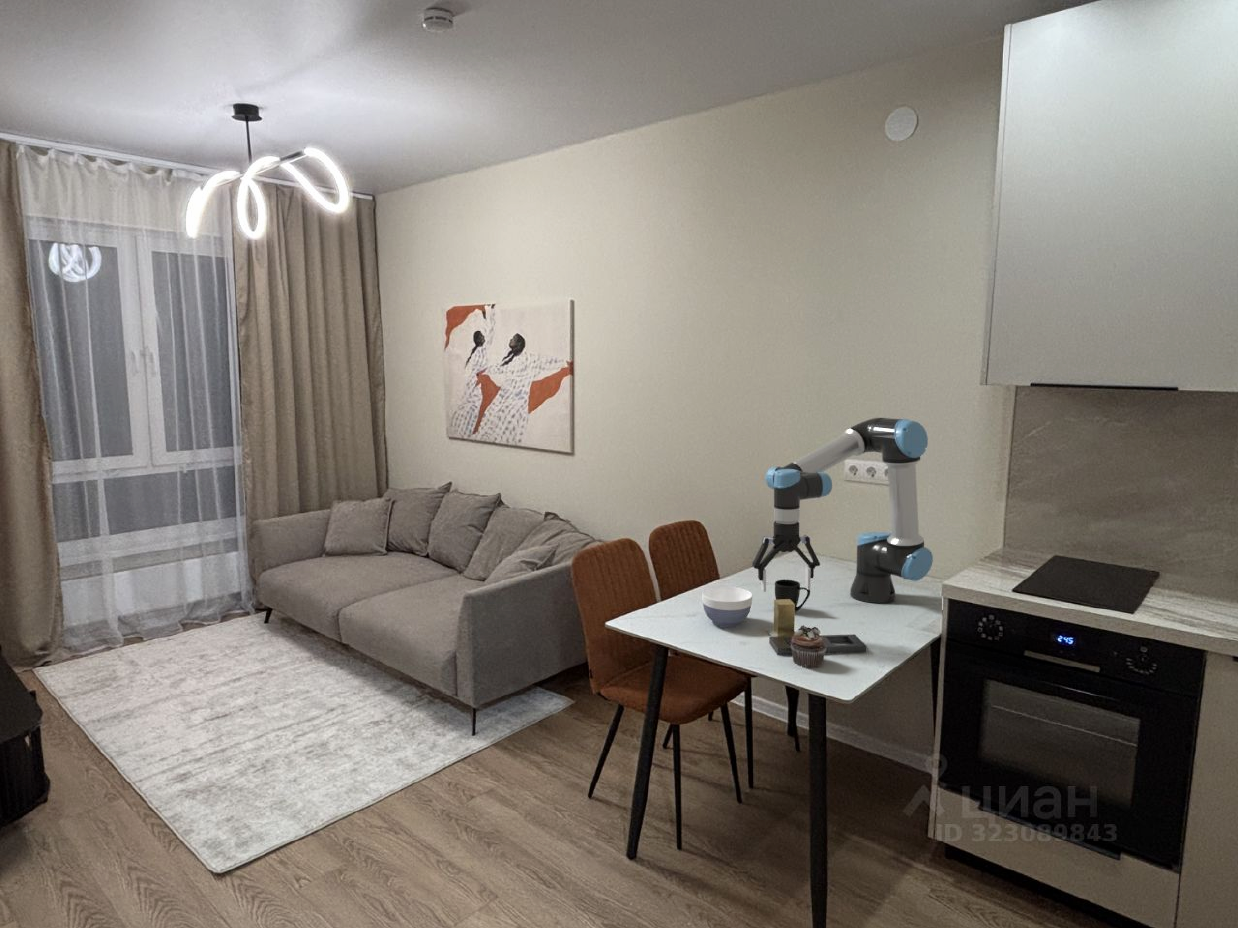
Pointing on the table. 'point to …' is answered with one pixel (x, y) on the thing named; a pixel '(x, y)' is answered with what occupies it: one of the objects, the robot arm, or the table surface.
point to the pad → (773, 633)
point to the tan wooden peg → (784, 617)
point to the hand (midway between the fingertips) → (785, 589)
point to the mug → (790, 591)
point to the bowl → (727, 605)
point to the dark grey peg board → (854, 642)
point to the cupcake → (808, 647)
